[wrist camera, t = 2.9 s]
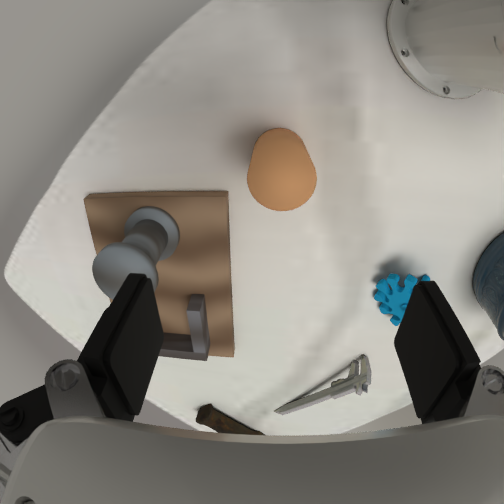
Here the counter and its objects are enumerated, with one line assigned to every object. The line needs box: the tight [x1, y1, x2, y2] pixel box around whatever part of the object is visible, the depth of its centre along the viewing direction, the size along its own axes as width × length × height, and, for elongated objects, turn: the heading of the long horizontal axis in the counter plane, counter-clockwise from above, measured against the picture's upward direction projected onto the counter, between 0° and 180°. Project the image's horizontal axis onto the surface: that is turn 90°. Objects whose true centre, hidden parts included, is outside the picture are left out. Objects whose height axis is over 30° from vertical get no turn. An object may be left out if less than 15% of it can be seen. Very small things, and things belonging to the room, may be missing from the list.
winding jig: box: [84, 191, 235, 361], centre depth 34 cm, size 23×16×10 cm
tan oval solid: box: [247, 128, 317, 211], centre depth 26 cm, size 5×5×8 cm
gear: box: [374, 274, 430, 326], centre depth 34 cm, size 11×6×10 cm
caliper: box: [274, 355, 371, 415], centre depth 45 cm, size 20×1×6 cm, turn 143°
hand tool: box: [196, 404, 264, 435], centre depth 54 cm, size 19×4×5 cm, turn 40°
